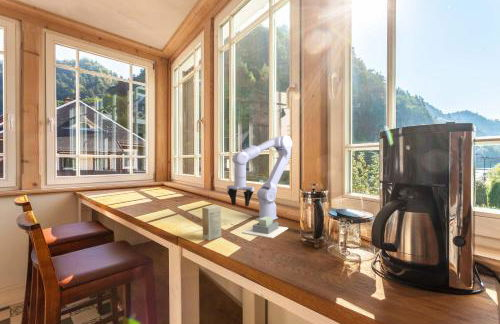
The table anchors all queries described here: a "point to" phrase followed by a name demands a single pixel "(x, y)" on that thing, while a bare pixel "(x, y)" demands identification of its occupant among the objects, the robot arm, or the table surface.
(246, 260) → the table surface
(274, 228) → the slot holder
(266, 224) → the key block
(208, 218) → the skincare box
